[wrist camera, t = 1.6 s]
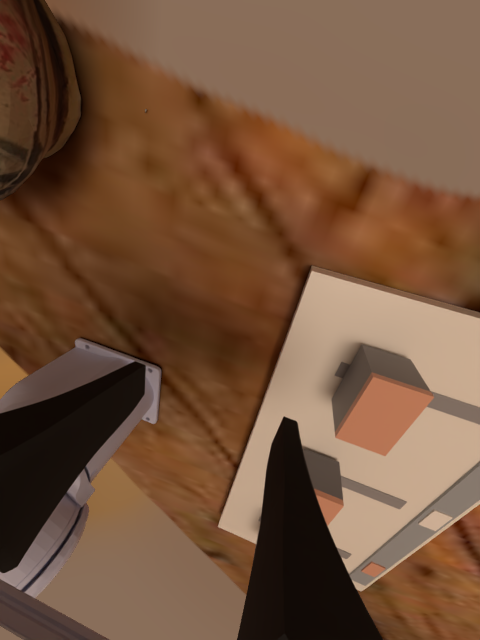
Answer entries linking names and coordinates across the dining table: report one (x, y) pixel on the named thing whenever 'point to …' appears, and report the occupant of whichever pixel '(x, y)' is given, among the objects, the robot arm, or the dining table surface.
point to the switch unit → (358, 463)
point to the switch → (378, 400)
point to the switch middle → (325, 483)
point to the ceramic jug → (33, 90)
